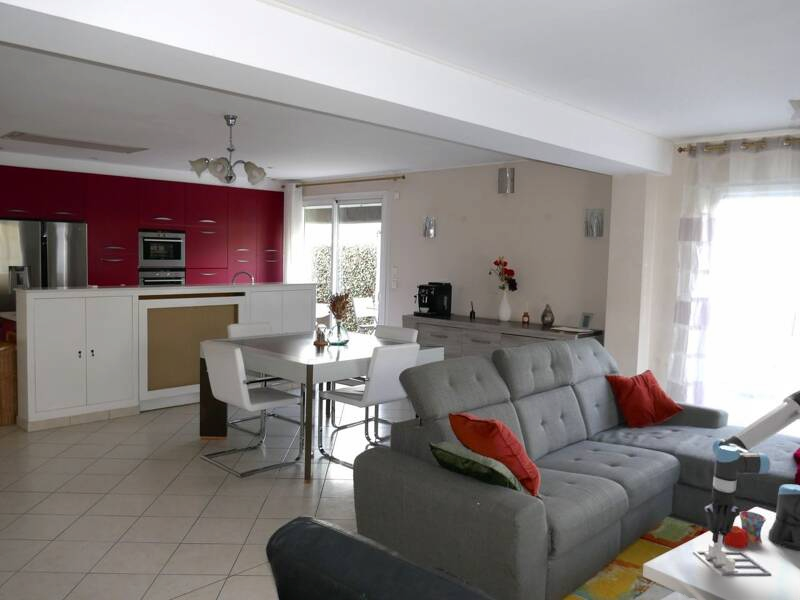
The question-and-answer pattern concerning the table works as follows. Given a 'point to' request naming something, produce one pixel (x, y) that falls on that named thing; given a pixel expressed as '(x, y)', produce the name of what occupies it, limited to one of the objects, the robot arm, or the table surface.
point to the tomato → (737, 538)
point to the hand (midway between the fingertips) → (717, 550)
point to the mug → (752, 525)
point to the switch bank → (735, 565)
